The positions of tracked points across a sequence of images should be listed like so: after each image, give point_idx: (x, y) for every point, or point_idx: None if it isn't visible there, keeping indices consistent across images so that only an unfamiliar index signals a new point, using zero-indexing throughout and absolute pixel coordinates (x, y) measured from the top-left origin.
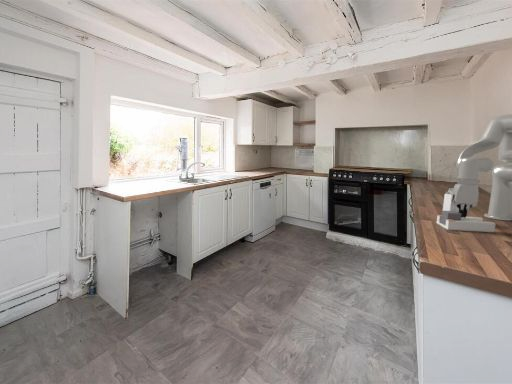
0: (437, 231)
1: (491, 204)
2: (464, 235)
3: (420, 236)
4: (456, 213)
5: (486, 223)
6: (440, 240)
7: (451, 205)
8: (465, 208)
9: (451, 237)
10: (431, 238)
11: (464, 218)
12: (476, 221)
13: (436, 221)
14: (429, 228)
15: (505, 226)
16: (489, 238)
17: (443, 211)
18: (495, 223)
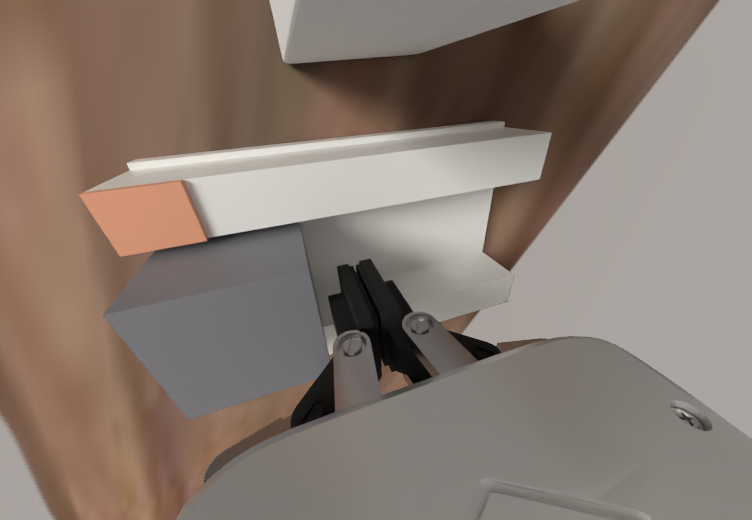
0: (151, 398)
1: None
2: (294, 388)
3: (54, 510)
4: (283, 387)
5: (461, 311)
6: (165, 496)
7: (320, 2)
8: (403, 372)
9: (222, 442)
10: (120, 500)
11: (398, 200)
12: (423, 307)
13: (127, 163)
14: (84, 366)
15: (632, 102)
16: (386, 374)
17: (130, 340)
18: (506, 301)
